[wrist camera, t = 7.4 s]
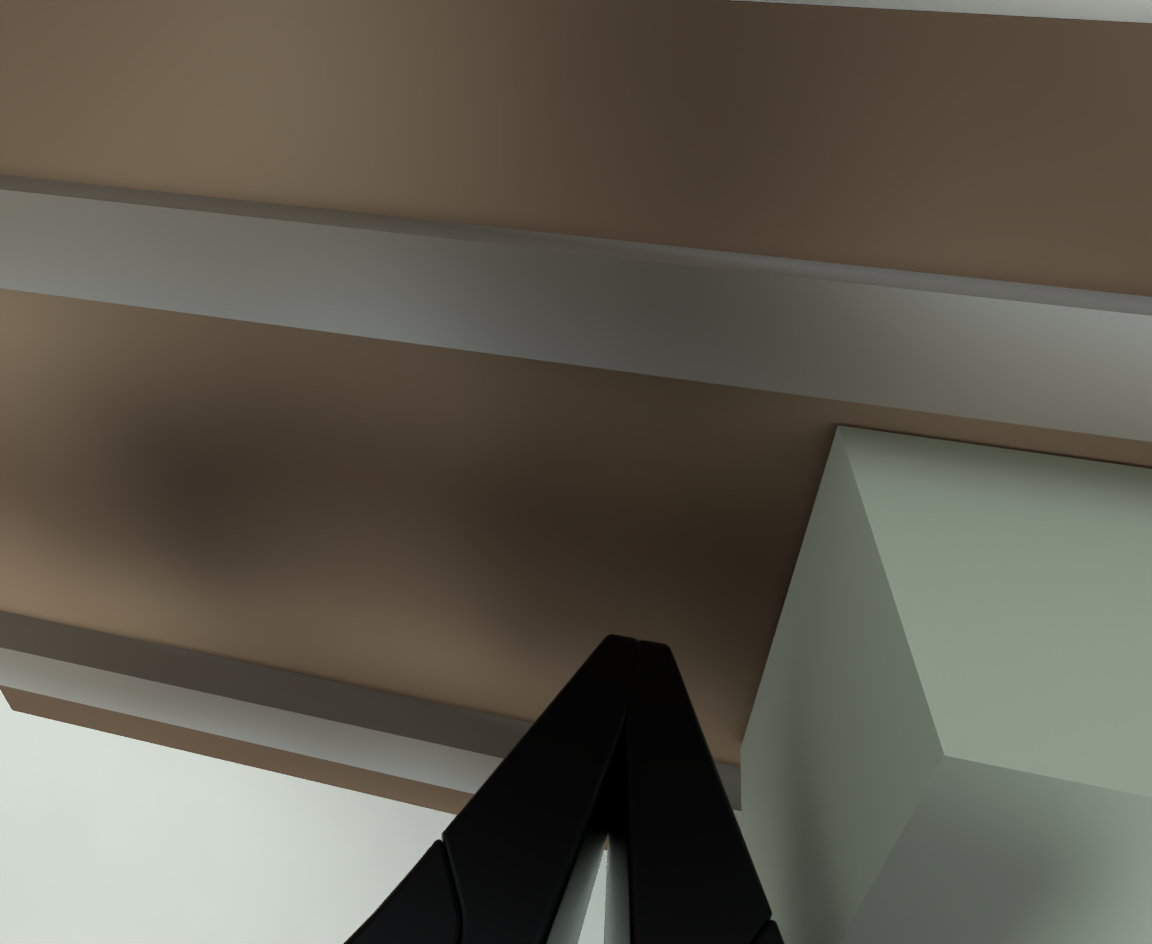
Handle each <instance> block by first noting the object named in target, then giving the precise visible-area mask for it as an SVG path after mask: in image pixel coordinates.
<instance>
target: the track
mask: <svg viewBox="0 0 1152 944" xmlns="http://www.w3.org/2000/svg"><path fill="white" fill-rule="evenodd" d="M838 425H839V426H846V427H854V428H861V429H868V430H875V431H882V432H890V433H897V434H904V435H911V436H918V437H926V438H933V439H940V440H947V441H954V442H962V443H969V444H976V445H983V446H990V447H998V448H1005V449H1012V450H1019V451H1026V452H1034V453H1041V454H1048V455H1055V456H1062V457H1070V458H1077V459H1084V460H1091V461H1098V462H1106V463H1113V464H1120V465H1127V466H1134V467H1142V468H1149V469H1152V23H1135V22H1116V21H1098V20H1080V19H1061V18H1043V17H1024V16H1006V15H988V14H969V13H951V12H932V11H914V10H896V9H877V8H859V7H840V6H822V5H804V4H785V3H767V2H748V1H730V0H0V689H1V691H2V693H3V695H4V696H5V698H6V700H7V702H8V703H9V705H10V707H11V709H12V710H14V711H18V712H23V713H27V714H31V715H35V716H40V717H44V718H48V719H52V720H57V721H61V722H65V723H69V724H74V725H78V726H82V727H86V728H91V729H95V730H99V731H103V732H108V733H112V734H116V735H120V736H125V737H129V738H133V739H137V740H141V741H146V742H150V743H154V744H158V745H163V746H167V747H171V748H175V749H180V750H184V751H188V752H192V753H197V754H201V755H205V756H209V757H214V758H218V759H222V760H226V761H231V762H235V763H239V764H243V765H248V766H252V767H256V768H260V769H265V770H269V771H273V772H277V773H282V774H286V775H290V776H294V777H299V778H303V779H307V780H311V781H315V782H320V783H324V784H328V785H332V786H337V787H341V788H345V789H349V790H354V791H358V792H362V793H366V794H371V795H375V796H379V797H383V798H388V799H392V800H396V801H400V802H405V803H409V804H413V805H417V806H422V807H426V808H430V809H434V810H439V811H443V812H447V813H451V814H456V815H458V814H459V812H460V811H461V810H462V809H463V808H464V806H465V805H466V804H467V803H468V802H469V800H470V799H471V798H472V797H473V796H474V794H475V793H476V792H477V791H478V790H479V788H480V787H481V786H482V785H483V784H484V782H485V781H486V780H487V779H488V778H489V776H490V775H491V774H492V773H493V771H494V770H495V769H496V768H497V767H498V765H499V764H500V763H501V762H502V761H503V759H504V758H505V757H506V756H507V755H508V753H509V752H510V751H511V750H512V749H513V747H514V746H515V745H516V744H517V743H518V741H519V740H520V739H521V738H522V737H523V735H524V734H525V733H526V732H527V731H528V729H529V728H530V727H531V726H532V724H533V723H534V722H535V721H536V720H537V718H538V717H539V716H540V715H541V714H542V712H543V711H544V710H545V709H546V708H547V706H548V705H549V704H550V703H551V702H552V700H553V699H554V698H555V697H556V696H557V694H558V693H559V692H560V691H561V690H562V688H563V687H564V686H565V685H566V684H567V682H568V681H569V680H570V679H571V678H572V676H573V675H574V674H575V673H576V671H577V670H578V669H579V668H580V667H581V665H582V664H583V663H584V662H585V661H586V659H587V658H588V657H589V656H590V655H591V653H592V652H593V651H594V650H595V649H596V647H597V646H598V645H599V644H600V643H601V641H602V640H603V639H604V638H605V637H606V636H607V635H609V634H616V635H621V636H627V637H632V638H636V639H637V640H638V641H639V640H648V641H653V642H658V643H664V644H667V645H668V646H669V647H670V648H671V650H672V653H673V655H674V658H675V660H676V663H677V666H678V668H679V671H680V673H681V676H682V679H683V681H684V684H685V686H686V689H687V692H688V694H689V697H690V699H691V702H692V705H693V707H694V710H695V712H696V715H697V718H698V720H699V723H700V725H701V728H702V731H703V733H704V736H705V738H706V741H707V744H708V746H709V749H710V752H711V754H712V757H713V759H714V762H715V765H716V767H717V770H718V772H719V775H720V778H721V780H722V783H723V785H724V788H725V791H726V793H727V796H728V798H729V801H730V804H731V806H732V809H733V811H734V814H735V817H736V819H737V822H738V824H739V827H740V830H741V832H742V808H741V754H740V748H741V745H742V742H743V738H744V735H745V732H746V728H747V725H748V722H749V718H750V715H751V712H752V709H753V705H754V702H755V699H756V695H757V692H758V689H759V685H760V682H761V679H762V675H763V672H764V669H765V665H766V662H767V659H768V655H769V652H770V649H771V646H772V642H773V639H774V636H775V632H776V629H777V626H778V622H779V619H780V616H781V612H782V609H783V606H784V602H785V599H786V596H787V592H788V589H789V586H790V582H791V579H792V576H793V573H794V569H795V566H796V563H797V559H798V556H799V553H800V549H801V546H802V543H803V539H804V536H805V533H806V529H807V526H808V523H809V519H810V516H811V513H812V510H813V506H814V503H815V500H816V496H817V493H818V490H819V486H820V483H821V480H822V476H823V473H824V470H825V466H826V463H827V460H828V456H829V453H830V450H831V447H832V443H833V440H834V437H835V433H836V430H837V427H838ZM604 850H608V836H607V840H606V843H605V847H604Z"/></svg>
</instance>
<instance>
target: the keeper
mask: <svg viewBox="0 0 1152 944" xmlns="http://www.w3.org/2000/svg"><path fill="white" fill-rule="evenodd" d="M740 754H741V808H742V835H743V837H744V840H745V843H746V845H747V848H748V850H749V853H750V856H751V858H752V861H753V863H754V866H755V869H756V871H757V874H758V876H759V879H760V882H761V884H762V887H763V889H764V892H765V895H766V897H767V900H768V902H769V905H770V908H771V910H772V917H771V919H770V920H774V921H776V923H777V925H778V928H779V930H780V933H781V935H782V938H783V941H784V943H785V944H1152V469H1149V468H1142V467H1134V466H1127V465H1120V464H1113V463H1106V462H1098V461H1091V460H1084V459H1077V458H1070V457H1062V456H1055V455H1048V454H1041V453H1034V452H1026V451H1019V450H1012V449H1005V448H998V447H990V446H983V445H976V444H969V443H962V442H954V441H947V440H940V439H933V438H926V437H918V436H911V435H904V434H897V433H890V432H882V431H875V430H868V429H861V428H854V427H846V426H839V425H838V427H837V430H836V433H835V437H834V440H833V443H832V447H831V450H830V453H829V456H828V460H827V463H826V466H825V470H824V473H823V476H822V480H821V483H820V486H819V490H818V493H817V496H816V500H815V503H814V506H813V510H812V513H811V516H810V519H809V523H808V526H807V529H806V533H805V536H804V539H803V543H802V546H801V549H800V553H799V556H798V559H797V563H796V566H795V569H794V573H793V576H792V579H791V582H790V586H789V589H788V592H787V596H786V599H785V602H784V606H783V609H782V612H781V616H780V619H779V622H778V626H777V629H776V632H775V636H774V639H773V642H772V646H771V649H770V652H769V655H768V659H767V662H766V665H765V669H764V672H763V675H762V679H761V682H760V685H759V689H758V692H757V695H756V699H755V702H754V705H753V709H752V712H751V715H750V718H749V722H748V725H747V728H746V732H745V735H744V738H743V742H742V745H741V748H740Z"/></svg>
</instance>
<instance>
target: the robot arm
mask: <svg viewBox="0 0 1152 944" xmlns="http://www.w3.org/2000/svg"><path fill="white" fill-rule="evenodd" d="M607 836H608V853H607V877H606V902H605V926H604V944H785V943H784V941H783V938H782V935H781V933H780V930H779V928H778V925H777V923H776V921H774V920H770V919H771V917H772V910H771V908H770V905H769V902H768V900H767V897H766V895H765V892H764V889H763V887H762V884H761V882H760V879H759V876H758V874H757V871H756V869H755V866H754V863H753V861H752V858H751V856H750V853H749V850H748V848H747V845H746V843H745V840H744V837H743V835H742V832H741V830H740V827H739V824H738V822H737V819H736V817H735V814H734V811H733V809H732V806H731V804H730V801H729V798H728V796H727V793H726V791H725V788H724V785H723V783H722V780H721V778H720V775H719V772H718V770H717V767H716V765H715V762H714V759H713V757H712V754H711V752H710V749H709V746H708V744H707V741H706V738H705V736H704V733H703V731H702V728H701V725H700V723H699V720H698V718H697V715H696V712H695V710H694V707H693V705H692V702H691V699H690V697H689V694H688V692H687V689H686V686H685V684H684V681H683V679H682V676H681V673H680V671H679V668H678V666H677V663H676V660H675V658H674V655H673V653H672V650H671V648H670V647H669V646H668V645H667V644H664V643H658V642H653V641H648V640H639V641H638V640H637V639H636V638H632V637H627V636H621V635H616V634H609V635H607V636H606V637H605V638H604V639H603V640H602V641H601V643H600V644H599V645H598V646H597V647H596V649H595V650H594V651H593V652H592V653H591V655H590V656H589V657H588V658H587V659H586V661H585V662H584V663H583V664H582V665H581V667H580V668H579V669H578V670H577V671H576V673H575V674H574V675H573V676H572V678H571V679H570V680H569V681H568V682H567V684H566V685H565V686H564V687H563V688H562V690H561V691H560V692H559V693H558V694H557V696H556V697H555V698H554V699H553V700H552V702H551V703H550V704H549V705H548V706H547V708H546V709H545V710H544V711H543V712H542V714H541V715H540V716H539V717H538V718H537V720H536V721H535V722H534V723H533V724H532V726H531V727H530V728H529V729H528V731H527V732H526V733H525V734H524V735H523V737H522V738H521V739H520V740H519V741H518V743H517V744H516V745H515V746H514V747H513V749H512V750H511V751H510V752H509V753H508V755H507V756H506V757H505V758H504V759H503V761H502V762H501V763H500V764H499V765H498V767H497V768H496V769H495V770H494V771H493V773H492V774H491V775H490V776H489V778H488V779H487V780H486V781H485V782H484V784H483V785H482V786H481V787H480V788H479V790H478V791H477V792H476V793H475V794H474V796H473V797H472V798H471V799H470V800H469V802H468V803H467V804H466V805H465V806H464V808H463V809H462V810H461V811H460V812H459V814H458V815H457V816H456V817H455V818H454V820H453V821H452V822H451V823H450V825H449V826H448V827H447V828H446V829H445V831H444V832H443V833H442V836H441V838H442V841H441V840H436V841H435V842H434V843H433V844H432V846H431V847H430V848H429V849H428V850H427V852H426V853H425V854H424V855H423V857H422V858H421V859H420V860H419V861H418V863H417V864H416V865H415V866H414V867H413V869H412V870H411V871H410V872H409V873H408V874H407V875H406V877H405V878H404V879H403V880H402V881H401V882H400V883H399V885H398V886H397V887H396V888H395V889H394V890H393V891H392V892H391V894H390V895H389V896H388V897H387V898H386V899H385V900H384V902H383V903H382V904H381V905H380V906H379V907H378V908H377V909H376V911H375V912H374V913H373V914H372V915H371V916H370V917H369V918H368V919H367V920H366V921H365V922H364V923H363V924H362V925H361V926H360V927H359V928H358V929H357V930H356V931H355V932H354V933H353V934H352V935H351V936H350V937H349V938H348V940H347V941H346V942H345V943H344V944H577V943H578V940H579V936H580V933H581V929H582V925H583V922H584V918H585V915H586V911H587V908H588V904H589V900H590V897H591V893H592V890H593V886H594V883H595V879H596V875H597V872H598V868H599V865H600V861H601V858H602V854H603V850H604V847H605V843H606V840H607Z"/></svg>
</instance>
